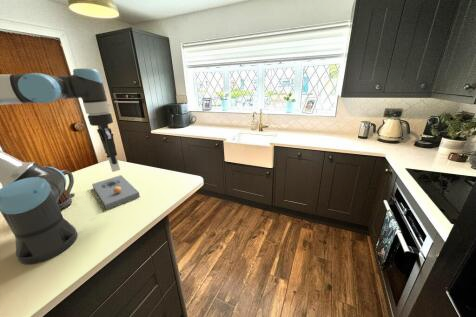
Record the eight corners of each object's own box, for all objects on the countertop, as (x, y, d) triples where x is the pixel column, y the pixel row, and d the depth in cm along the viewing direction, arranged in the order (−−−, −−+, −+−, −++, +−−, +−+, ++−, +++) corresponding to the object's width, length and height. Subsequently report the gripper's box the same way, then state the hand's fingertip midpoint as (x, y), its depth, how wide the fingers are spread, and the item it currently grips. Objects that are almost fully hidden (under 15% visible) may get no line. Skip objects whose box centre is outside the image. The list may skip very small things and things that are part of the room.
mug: (55, 215, 83) (40, 184, 78) (35, 213, 85) (20, 182, 80) (87, 195, 98) (77, 168, 92) (70, 194, 100) (59, 167, 94)
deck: (140, 196, 95) (138, 192, 94) (106, 209, 86) (105, 204, 85) (122, 178, 114) (121, 175, 113) (93, 188, 105) (91, 184, 104)
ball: (115, 195, 92) (113, 189, 91) (113, 192, 94) (111, 187, 93) (123, 192, 94) (121, 186, 93) (121, 190, 96) (119, 184, 95)
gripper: (115, 113, 72) (130, 171, 81) (106, 111, 81) (121, 163, 90) (90, 116, 67) (110, 178, 76) (84, 113, 76) (102, 169, 85)
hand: (116, 170), depth 83 cm, fingers closed
